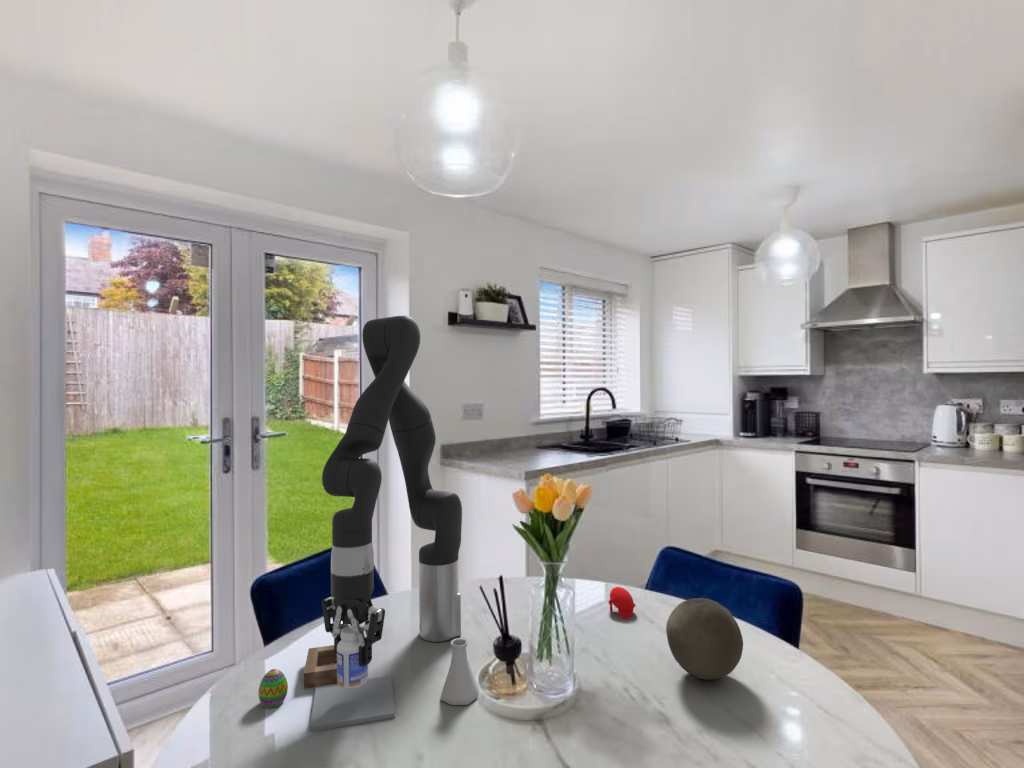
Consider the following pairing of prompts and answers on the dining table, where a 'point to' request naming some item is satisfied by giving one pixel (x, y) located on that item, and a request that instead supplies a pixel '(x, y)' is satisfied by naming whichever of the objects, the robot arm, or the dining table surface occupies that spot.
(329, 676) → the walnut socket
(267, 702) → the egg
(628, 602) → the red rounded figure
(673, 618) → the grey river stone
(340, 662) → the pill bottle
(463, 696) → the flask
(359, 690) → the slate mat
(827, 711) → the dining table surface
